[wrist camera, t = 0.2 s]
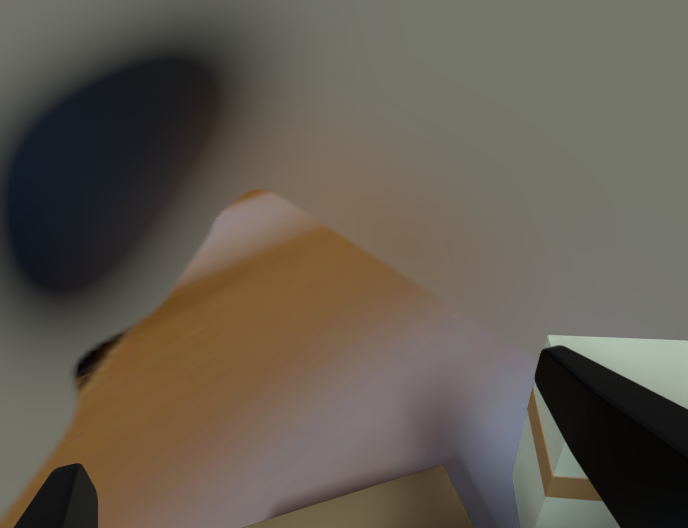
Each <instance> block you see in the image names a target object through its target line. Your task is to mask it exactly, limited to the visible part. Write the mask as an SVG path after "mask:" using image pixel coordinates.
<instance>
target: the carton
mask: <svg viewBox="0 0 688 528" xmlns="http://www.w3.org/2000/svg"><path fill="white" fill-rule="evenodd" d="M556 345H562V346H565V347H567V348H569V349H571V350H573V351H575V352H577V353H579V354H581V355H583V356H585V357H587V358H589V359H591V360H593V361H595V362H597V363H599V364H601V365H603V366H605V367H606V368H608V369H610V370H612V371H614V372H616V373H618V374H620V375H622V376H624V377H626V378H628V379H630V380H632V381H634V382H636V383H638V384H640V385H642V386H644V387H646V388H647V389H649V390H651V391H653V392H655V393H657V394H659V395H661V396H663V397H665V398H667V399H669V400H671V401H673V402H675V403H677V404H679V405H681V406H683V407H685V408H687V409H688V341H683V340H658V339H634V338H609V337H584V336H559V335H558V336H557V335H548V337H547V341H546V344H545V348H548V347H552V346H556ZM545 348H544V349H545ZM527 410H528V414H527V418H526V422H525V425H524V429H523V433H522V437H521V441H520V445H519V449H518V452H517V456H516V460H515V464H514V468H513V472H512V479H513V486H514V492H515V498H516V505H517V511H518V518H519V524H520V528H620V527H619V525H618V524H617V522H616V520H615V519H614V517H613V516H612V514H611V513H610V511H609V510H608V508H607V507H606V505H605V504H604V502H603V501H602V499H601V498H600V496H599V494H598V493H597V491H596V490H595V488H594V487H593V485H592V484H591V482H590V481H589V479H588V478H587V476H586V475H585V473H584V472H583V470H582V468H581V467H580V465H579V464H578V462H577V461H576V459H575V458H574V456H573V454H572V453H571V451H570V449H569V447H568V446H567V444H566V442H565V440H564V438H563V436H562V434H561V433H560V431H559V429H558V427H557V425H556V423H555V421H554V419H553V417H552V415H551V413H550V411H549V409H548V407H547V406H546V404H545V402H544V400H543V398H542V396H541V394H540V392H539V390H538V388H537V386H536V383H535V387H534V389H532V392H531V396H530V400H529V404H528V408H527Z"/></svg>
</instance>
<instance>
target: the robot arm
mask: <svg viewBox="0 0 688 528" xmlns="http://www.w3.org/2000/svg"><path fill="white" fill-rule="evenodd" d="M535 383H536V386H537V388H538V390H539V392H540V394H541V396H542V398H543V400H544V402H545V404H546V406H547V407H548V409H549V411H550V413H551V415H552V417H553V419H554V421H555V423H556V425H557V427H558V429H559V431H560V433H561V434H562V436H563V438H564V440H565V442H566V444H567V446H568V447H569V449H570V451H571V453H572V454H573V456H574V458H575V459H576V461H577V462H578V464H579V465H580V467H581V468H582V470H583V472H584V473H585V475H586V476H587V478H588V479H589V481H590V482H591V484H592V485H593V487H594V488H595V490H596V491H597V493H598V494H599V496H600V498H601V499H602V501H603V502H604V504H605V505H606V507H607V508H608V510H609V511H610V513H611V514H612V516H613V517H614V519H615V520H616V522H617V524H618V525H619V527H620V528H688V409H687V408H685V407H683V406H681V405H679V404H677V403H675V402H673V401H671V400H669V399H667V398H665V397H663V396H661V395H659V394H657V393H655V392H653V391H651V390H649V389H647V388H646V387H644V386H642V385H640V384H638V383H636V382H634V381H632V380H630V379H628V378H626V377H624V376H622V375H620V374H618V373H616V372H614V371H612V370H610V369H608V368H606V367H605V366H603V365H601V364H599V363H597V362H595V361H593V360H591V359H589V358H587V357H585V356H583V355H581V354H579V353H577V352H575V351H573V350H571V349H569V348H567V347H565V346H562V345H556V346H552V347H548V348H545V349H543V350H542V351H541V353H540V357H539V361H538V365H537V368H536V372H535ZM14 528H98V498H97V492H96V489H95V487H94V485H93V483H92V482H91V480H90V478H89V476H88V474H87V472H86V471H85V469H84V467H83V466H82V465H81V464H79V463H75V464H71V465H67V466H63V467H59V468H56V469H55V470H54V471H52V472H51V474H50V475H49V477H48V478H47V479H46V481H45V482H44V484H43V485H42V487H41V488H40V490H39V491H38V493H37V494H36V496H35V497H34V499H33V500H32V501H31V503H30V504H29V506H28V507H27V509H26V510H25V512H24V513H23V515H22V516H21V518H20V519H19V521H18V522H17V523H16V525H15V526H14Z"/></svg>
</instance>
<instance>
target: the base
mask: <svg viewBox="0 0 688 528" xmlns="http://www.w3.org/2000/svg"><path fill="white" fill-rule="evenodd" d="M242 528H474V526H473V524H472V522H471V520H470V518H469V516H468V513H467V511H466V509H465V507H464V505H463V503H462V501H461V499H460V497H459V495H458V493H457V491H456V489H455V487H454V485H453V483H452V481H451V479H450V477H449V475H448V473H447V471H446V469H445V467H444V465H443V464H442V465H439V466H436V467H433V468H429V469H426V470H423V471H420V472H417V473H413V474H410V475H407V476H404V477H401V478H398V479H394V480H391V481H388V482H385V483H382V484H379V485H375V486H372V487H369V488H366V489H363V490H360V491H356V492H353V493H350V494H347V495H344V496H341V497H337V498H334V499H331V500H328V501H325V502H322V503H318V504H315V505H312V506H309V507H306V508H302V509H299V510H296V511H293V512H290V513H287V514H283V515H280V516H277V517H274V518H271V519H268V520H264V521H261V522H258V523H255V524H252V525H249V526H245V527H242Z"/></svg>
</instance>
